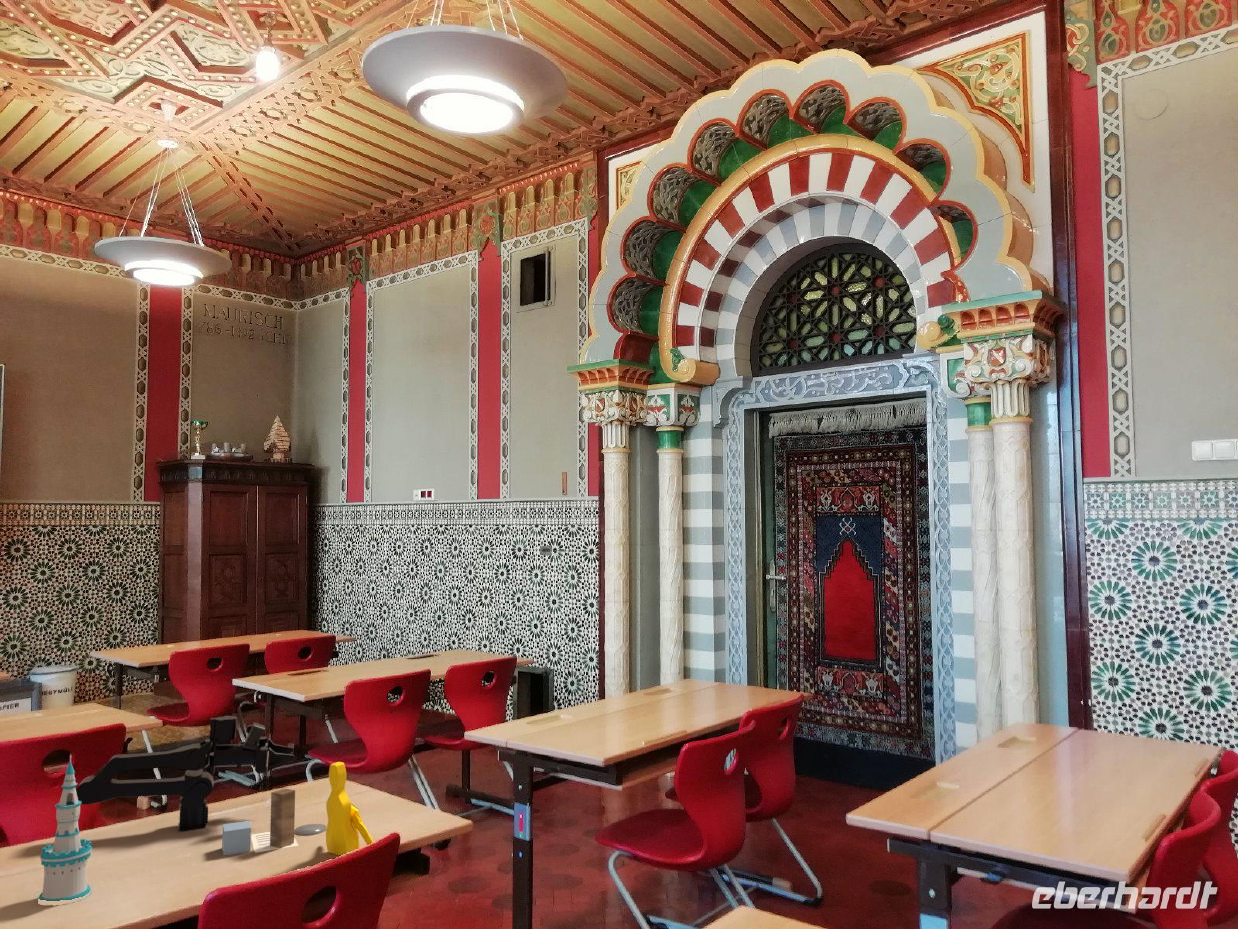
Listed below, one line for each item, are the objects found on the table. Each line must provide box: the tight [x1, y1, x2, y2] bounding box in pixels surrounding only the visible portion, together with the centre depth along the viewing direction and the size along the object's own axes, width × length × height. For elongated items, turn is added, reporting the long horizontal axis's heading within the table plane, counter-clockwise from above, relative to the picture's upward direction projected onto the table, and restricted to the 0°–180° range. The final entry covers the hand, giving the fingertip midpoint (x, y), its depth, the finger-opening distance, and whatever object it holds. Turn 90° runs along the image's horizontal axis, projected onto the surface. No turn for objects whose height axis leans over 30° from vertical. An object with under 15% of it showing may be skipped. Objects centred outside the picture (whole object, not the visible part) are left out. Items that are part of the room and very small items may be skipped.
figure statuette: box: [325, 761, 375, 856], centre depth 216 cm, size 18×8×22 cm, turn 56°
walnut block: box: [269, 787, 296, 849], centre depth 222 cm, size 4×4×13 cm
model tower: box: [38, 754, 93, 901], centre depth 192 cm, size 10×10×30 cm
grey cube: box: [221, 820, 252, 856], centre depth 218 cm, size 6×6×6 cm
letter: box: [251, 831, 299, 854], centre depth 225 cm, size 10×15×1 cm, turn 27°
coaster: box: [294, 823, 327, 836], centre depth 232 cm, size 8×8×1 cm
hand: (294, 753), depth 248 cm, fingers open, 9 cm apart
